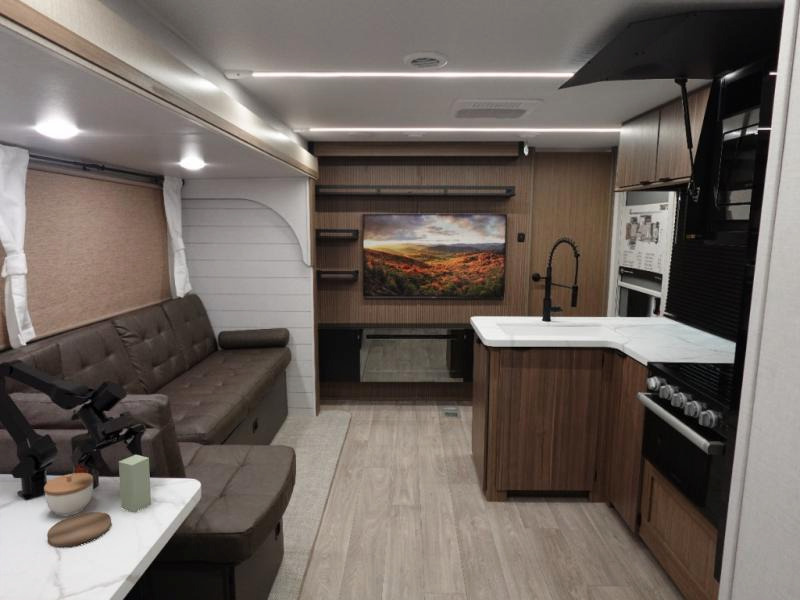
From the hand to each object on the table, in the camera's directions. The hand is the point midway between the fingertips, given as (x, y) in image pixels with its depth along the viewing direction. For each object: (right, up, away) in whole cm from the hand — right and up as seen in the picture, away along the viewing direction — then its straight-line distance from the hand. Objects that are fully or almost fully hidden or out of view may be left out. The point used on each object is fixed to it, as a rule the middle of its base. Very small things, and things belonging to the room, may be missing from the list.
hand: (127, 468), depth 134 cm
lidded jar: (-14, -10, -2) cm, 17 cm away
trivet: (-5, -11, -12) cm, 17 cm away
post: (+3, -10, 0) cm, 10 cm away
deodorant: (-17, -9, +10) cm, 22 cm away
